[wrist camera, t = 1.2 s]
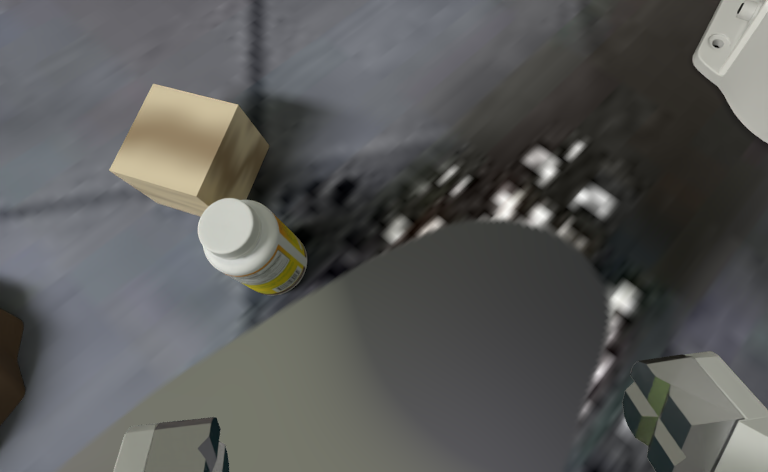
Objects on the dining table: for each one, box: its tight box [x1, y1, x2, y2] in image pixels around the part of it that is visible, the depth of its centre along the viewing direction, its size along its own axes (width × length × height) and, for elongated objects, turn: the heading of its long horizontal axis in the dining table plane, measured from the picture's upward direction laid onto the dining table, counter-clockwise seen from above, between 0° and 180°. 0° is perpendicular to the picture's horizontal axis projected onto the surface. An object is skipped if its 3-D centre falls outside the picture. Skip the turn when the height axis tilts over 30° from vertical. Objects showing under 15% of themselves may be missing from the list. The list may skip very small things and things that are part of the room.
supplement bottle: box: [198, 198, 307, 295], centre depth 42 cm, size 6×6×10 cm
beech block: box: [109, 84, 269, 216], centre depth 47 cm, size 8×8×7 cm
